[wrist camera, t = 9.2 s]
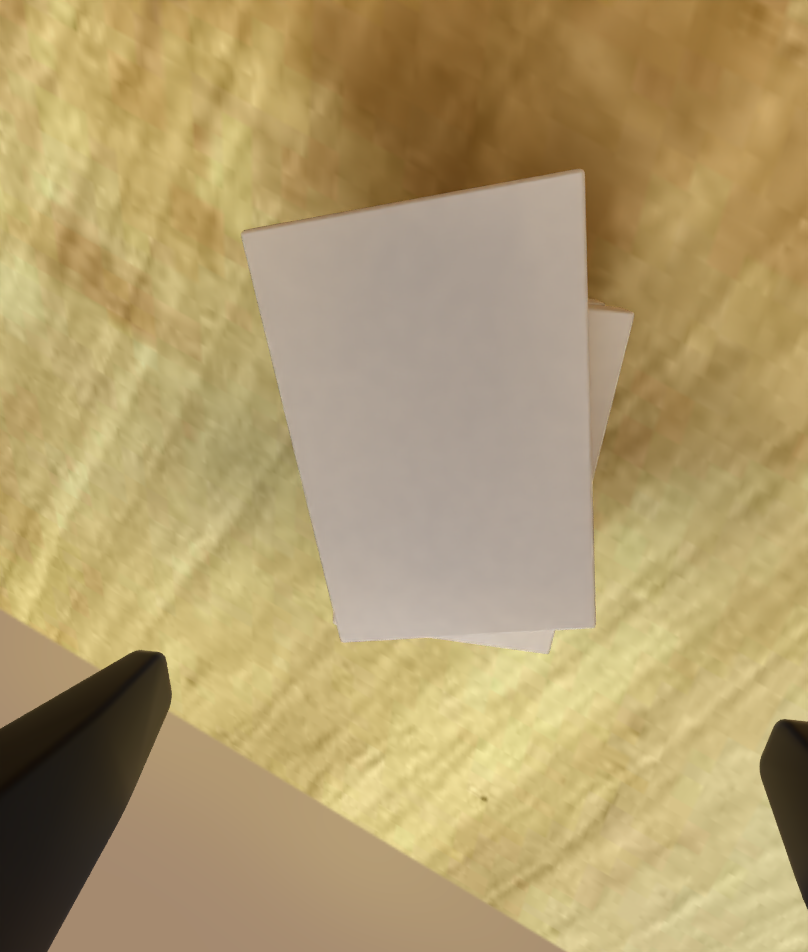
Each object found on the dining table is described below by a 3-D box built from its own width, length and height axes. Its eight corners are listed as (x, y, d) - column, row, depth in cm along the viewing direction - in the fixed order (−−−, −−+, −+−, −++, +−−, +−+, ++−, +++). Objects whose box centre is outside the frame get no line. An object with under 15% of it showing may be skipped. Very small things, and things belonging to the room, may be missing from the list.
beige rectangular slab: (347, 590, 19) (332, 634, 17) (345, 277, 15) (325, 281, 13) (554, 608, 19) (567, 656, 16) (612, 289, 15) (639, 296, 12)
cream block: (356, 590, 16) (340, 644, 14) (277, 233, 13) (237, 230, 10) (577, 574, 15) (596, 629, 13) (562, 182, 12) (585, 167, 9)
